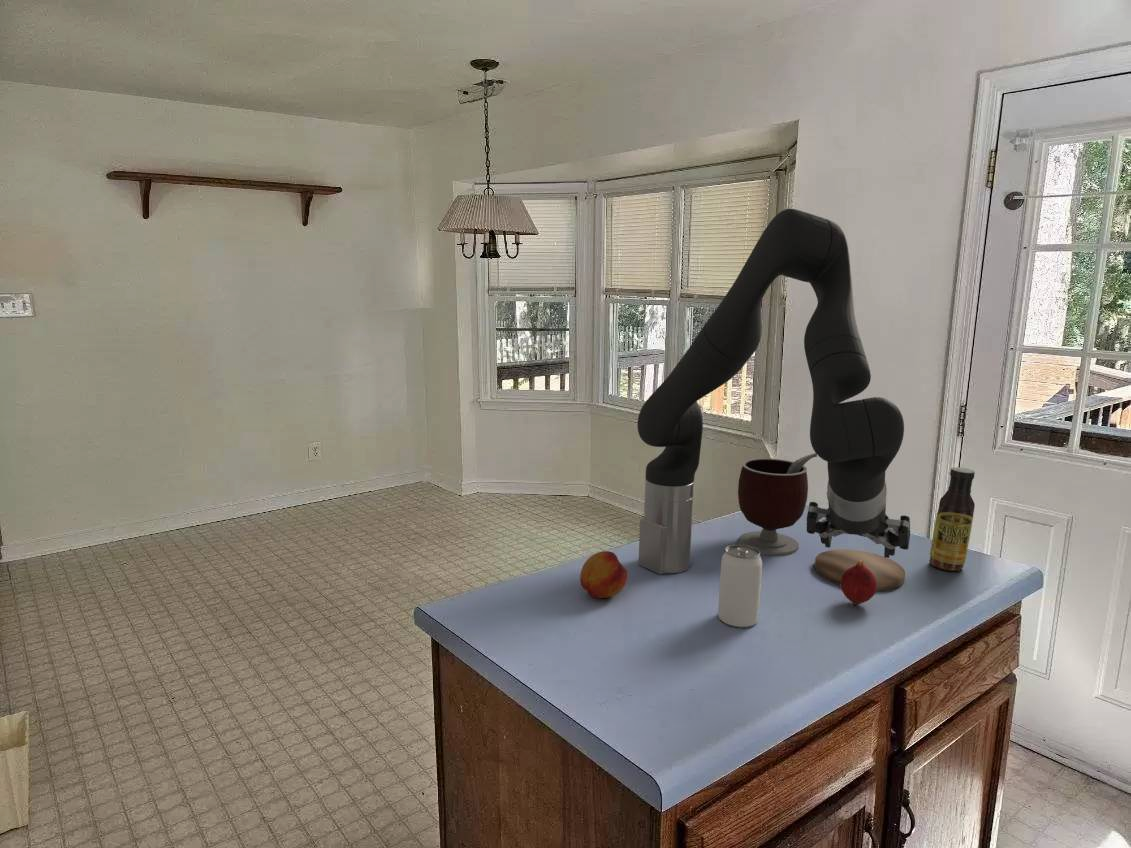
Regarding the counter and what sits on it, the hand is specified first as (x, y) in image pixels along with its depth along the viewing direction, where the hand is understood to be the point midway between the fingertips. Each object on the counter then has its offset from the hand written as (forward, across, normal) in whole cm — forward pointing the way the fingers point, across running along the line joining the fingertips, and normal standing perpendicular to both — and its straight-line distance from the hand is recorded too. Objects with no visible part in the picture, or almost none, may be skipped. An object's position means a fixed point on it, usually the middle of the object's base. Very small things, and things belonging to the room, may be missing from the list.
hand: (857, 547), depth 112 cm
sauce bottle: (+37, -14, -16) cm, 43 cm away
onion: (+19, 0, +2) cm, 19 cm away
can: (+8, +17, +13) cm, 23 cm away
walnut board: (+29, +1, -8) cm, 30 cm away
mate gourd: (+34, +19, -13) cm, 41 cm away
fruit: (+6, +40, +15) cm, 43 cm away
